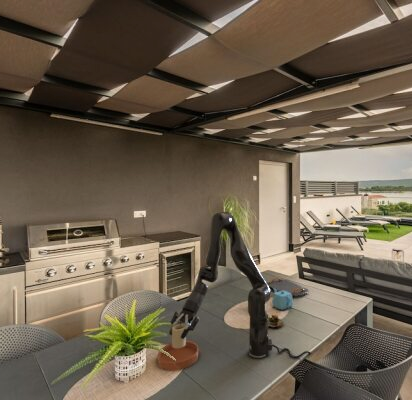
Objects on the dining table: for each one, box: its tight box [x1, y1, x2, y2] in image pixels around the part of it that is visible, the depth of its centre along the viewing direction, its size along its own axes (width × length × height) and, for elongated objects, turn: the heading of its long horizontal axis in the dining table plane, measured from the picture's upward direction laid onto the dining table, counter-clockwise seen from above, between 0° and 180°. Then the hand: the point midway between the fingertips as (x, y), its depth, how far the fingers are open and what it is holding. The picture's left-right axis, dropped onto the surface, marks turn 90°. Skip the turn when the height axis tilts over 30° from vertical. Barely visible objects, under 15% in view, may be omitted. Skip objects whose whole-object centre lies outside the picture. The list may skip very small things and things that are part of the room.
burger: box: [268, 311, 284, 329], centre depth 166 cm, size 12×12×8 cm
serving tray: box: [266, 277, 310, 297], centre depth 228 cm, size 39×23×6 cm, turn 34°
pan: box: [157, 340, 200, 371], centre depth 131 cm, size 18×18×4 cm
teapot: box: [271, 288, 294, 311], centre depth 194 cm, size 12×18×12 cm
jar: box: [171, 323, 187, 349], centre depth 131 cm, size 6×6×8 cm
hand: (176, 336), depth 129 cm, fingers closed on jar, 6 cm apart
